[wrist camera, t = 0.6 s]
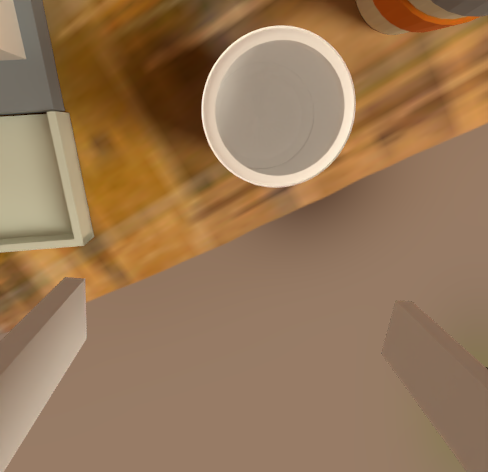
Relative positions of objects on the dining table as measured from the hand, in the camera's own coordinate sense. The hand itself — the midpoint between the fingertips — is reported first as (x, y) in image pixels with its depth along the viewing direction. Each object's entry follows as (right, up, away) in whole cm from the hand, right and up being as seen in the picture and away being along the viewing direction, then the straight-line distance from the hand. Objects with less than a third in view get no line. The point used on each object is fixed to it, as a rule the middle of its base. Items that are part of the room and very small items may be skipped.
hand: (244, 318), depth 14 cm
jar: (+1, +16, +23) cm, 28 cm away
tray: (-25, +9, +23) cm, 35 cm away
